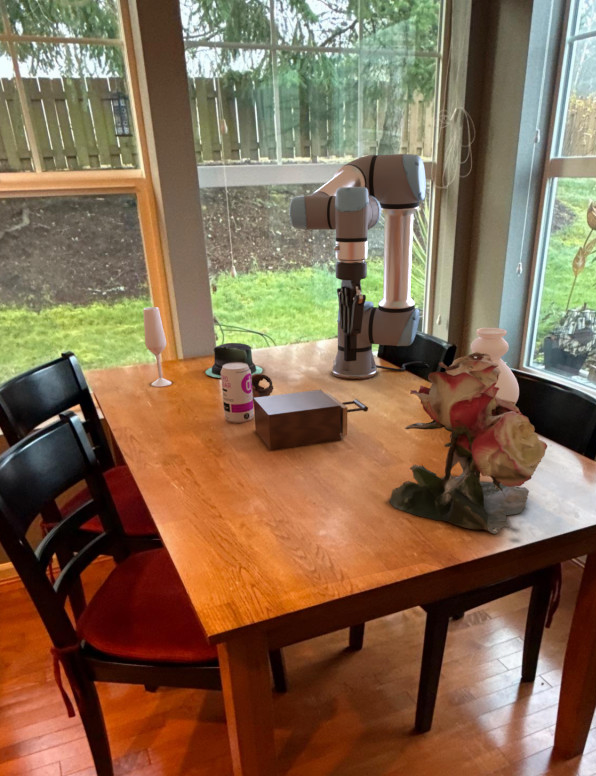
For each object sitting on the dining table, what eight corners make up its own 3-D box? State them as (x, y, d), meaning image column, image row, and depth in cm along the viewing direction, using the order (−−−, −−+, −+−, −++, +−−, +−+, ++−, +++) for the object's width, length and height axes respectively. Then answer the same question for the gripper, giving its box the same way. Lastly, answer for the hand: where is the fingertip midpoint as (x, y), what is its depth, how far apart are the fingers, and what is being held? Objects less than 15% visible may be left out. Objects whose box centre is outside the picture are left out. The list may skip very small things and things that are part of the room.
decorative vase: (439, 430, 168) (447, 334, 155) (456, 410, 181) (465, 321, 169) (506, 440, 161) (521, 341, 148) (519, 419, 175) (533, 326, 162)
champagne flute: (176, 382, 210) (166, 307, 198) (161, 387, 205) (150, 311, 194) (161, 379, 214) (151, 305, 202) (146, 384, 209) (135, 309, 197)
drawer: (353, 415, 176) (353, 389, 173) (372, 431, 165) (373, 403, 162) (268, 427, 169) (266, 400, 165) (282, 444, 158) (281, 416, 154)
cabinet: (321, 422, 175) (320, 389, 170) (340, 440, 163) (340, 405, 158) (255, 431, 169) (253, 397, 164) (270, 450, 157) (268, 414, 153)
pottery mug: (272, 393, 200) (276, 374, 193) (268, 414, 195) (272, 396, 188) (234, 384, 198) (238, 365, 191) (230, 406, 193) (233, 386, 186)
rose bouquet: (519, 544, 116) (546, 384, 101) (378, 507, 130) (384, 361, 115) (555, 491, 135) (582, 350, 120) (428, 464, 148) (439, 334, 133)
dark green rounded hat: (270, 362, 228) (259, 379, 211) (228, 385, 235) (214, 403, 218) (247, 324, 222) (234, 339, 205) (206, 349, 229) (189, 365, 212)
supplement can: (259, 415, 180) (255, 363, 172) (244, 425, 173) (240, 371, 166) (234, 412, 183) (230, 360, 175) (219, 421, 176) (214, 368, 169)
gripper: (326, 258, 154) (327, 355, 165) (347, 264, 143) (346, 368, 155) (355, 257, 156) (353, 353, 168) (377, 262, 145) (374, 365, 157)
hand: (350, 360), depth 161 cm, fingers closed
